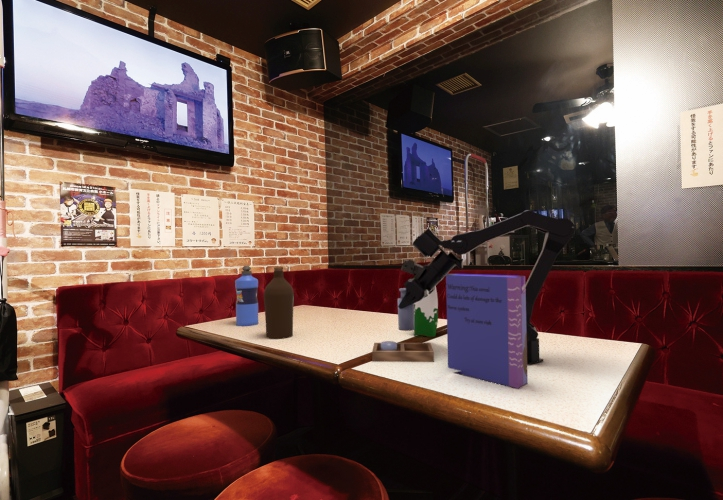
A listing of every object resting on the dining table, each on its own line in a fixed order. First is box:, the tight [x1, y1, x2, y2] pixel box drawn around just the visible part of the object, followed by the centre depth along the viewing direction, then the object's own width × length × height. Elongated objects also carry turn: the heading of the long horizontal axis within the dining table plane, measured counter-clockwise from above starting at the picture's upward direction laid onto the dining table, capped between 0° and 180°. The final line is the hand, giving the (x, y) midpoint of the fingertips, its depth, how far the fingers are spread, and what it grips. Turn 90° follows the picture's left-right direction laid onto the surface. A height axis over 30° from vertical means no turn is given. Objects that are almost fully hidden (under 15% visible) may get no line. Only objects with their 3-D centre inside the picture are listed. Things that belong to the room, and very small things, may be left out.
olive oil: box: [263, 266, 295, 340], centre depth 137 cm, size 11×11×25 cm
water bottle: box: [234, 265, 259, 327], centre depth 162 cm, size 9×9×25 cm
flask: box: [397, 287, 415, 332], centre depth 112 cm, size 5×5×12 cm
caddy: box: [371, 342, 435, 363], centre depth 104 cm, size 16×10×4 cm, turn 85°
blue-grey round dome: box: [380, 340, 398, 351], centre depth 104 cm, size 4×4×4 cm
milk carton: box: [412, 277, 439, 338], centre depth 135 cm, size 9×9×20 cm
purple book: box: [445, 273, 529, 390], centre depth 88 cm, size 17×5×24 cm, turn 43°
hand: (401, 306), depth 112 cm, fingers closed on flask, 5 cm apart
